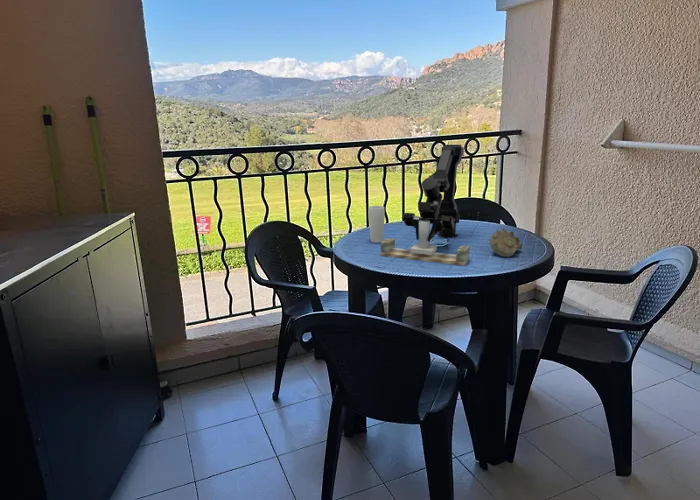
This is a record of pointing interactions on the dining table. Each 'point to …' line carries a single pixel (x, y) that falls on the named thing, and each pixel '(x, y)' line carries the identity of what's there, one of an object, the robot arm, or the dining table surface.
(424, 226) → the carriage
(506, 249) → the seashell
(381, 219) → the drinking glass
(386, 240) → the wooden slide rail
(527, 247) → the dining table surface
